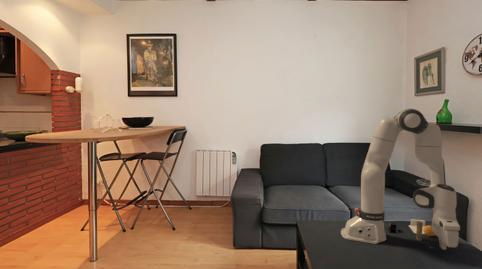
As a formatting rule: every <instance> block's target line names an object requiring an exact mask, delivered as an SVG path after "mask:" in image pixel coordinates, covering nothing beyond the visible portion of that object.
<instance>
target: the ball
mask: <svg viewBox="0 0 482 269" xmlns="http://www.w3.org/2000/svg"><path fill="white" fill-rule="evenodd" d="M431 227H432V225H430V224H429V225H425V227H424V229H423V231H424V233H425V234H424V235H426V236H427V237H433V236H436V235H435V233H434V232H433V231H432V228H431Z"/></svg>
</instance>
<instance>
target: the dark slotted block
mask: <svg viewBox="0 0 482 269" xmlns="http://www.w3.org/2000/svg"><path fill="white" fill-rule="evenodd" d="M388 223H389V224H388V227H386V229H387V231H388V233H389V234H398V235H399V231H398V230H397V224H396V222H391V221H389V222H388Z"/></svg>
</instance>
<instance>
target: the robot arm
mask: <svg viewBox="0 0 482 269" xmlns="http://www.w3.org/2000/svg"><path fill="white" fill-rule="evenodd" d="M403 131H404V132H405V131H406V132H410V133H413V134H414V140H415V141H414V155H415V158H416V159H417V160H418V161H419V162H421V163H422V164H425V165H426V166H427V167H428V168H429V173H430V175H429V176H430V185H429V186H428V187H422V188H418V189H416V190H415V191H414V192H413V194H412V201H413V203H414V205H416V206H417V207H419V208H421V209H425V210H426V209H427V210H432V220H431V226H432V227H431V228H432V231H433V232H434V233H435V234H436V235H435V236H437V238H438V241H439V247H440V248H441V249H442V250H447V247H448V248H454V249H455V248H457V247H458V245H459V236H460V233H459V231H460V230H461V226H460V224H459V222H458V219H457V212H456V208H457V191H456V190H455V188H454V187H452V186H450V185H448V184H446V183H447V182H446V169H445V161H444V158H443V152H442V150H443V149H442V147H443V146H442V144H443V142H442V140H443V138H442V132H441V128H440V126H439V125H438V124H436V123H433V122H428V121H427V119H426V118H425V116H424V115H423V113H422V112H421V111H420V110H418V109H415V108H404V109H403V110H401V111H400V112H398V113H397V114H396V115H395V116H394V117H382V118H381V119H380V120H379V122H378V123H377V125H376V127H375V130H374V131H373V134H372V138H371V140H370V145H369V147H368V152H367V154H366V156H365V160H364V163H363V166H362V169H361V175H360V208H359V207H355V209H354V211H355V213H356V215H355V216H353V217H352V218H350V219H348V220H347V221H346V223H345V227H343V228H341V230H340V234H341V237H342V238H344V239H345V240H349V241H355V242H362V243H367V244H368V243H369V244H373V245H377V244H379V243H382V242H385V241H386V240H387V236H386V235H387V234H386V231H385V221H386V220H385V219H386V216H385V215H386V214H385V210H384V209H385V186H386V185H385V184H386V175H385V174H386V170H387V168H388V166H389V162H390V160H391V158H392V155H393V152H394V150H395V146H396V143H397V139H398V137H399V135H400V133H401V132H403Z"/></svg>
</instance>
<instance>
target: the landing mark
mask: <svg viewBox="0 0 482 269" xmlns="http://www.w3.org/2000/svg"><path fill="white" fill-rule="evenodd" d="M407 226H408V228H410V230H411V231H412V232H413V233H414V234H416V228H417V226H414V225H411V224H409V225H407ZM425 226H426V225H425ZM425 226H422V235H426V234H425V233H424V231H423V229H424V227H425ZM434 236H437V235H436V234H435V235H434Z"/></svg>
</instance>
